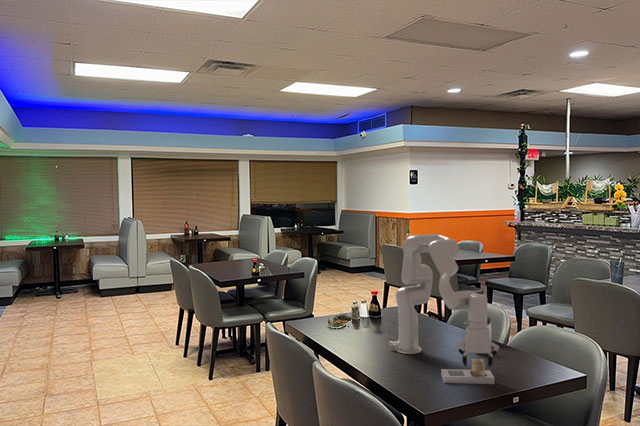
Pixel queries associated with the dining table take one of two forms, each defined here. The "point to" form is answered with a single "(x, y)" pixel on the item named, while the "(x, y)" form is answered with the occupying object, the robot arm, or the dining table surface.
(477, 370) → the beech block
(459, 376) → the rail
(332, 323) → the plated dish
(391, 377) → the dining table surface
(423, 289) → the robot arm
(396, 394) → the dining table surface
